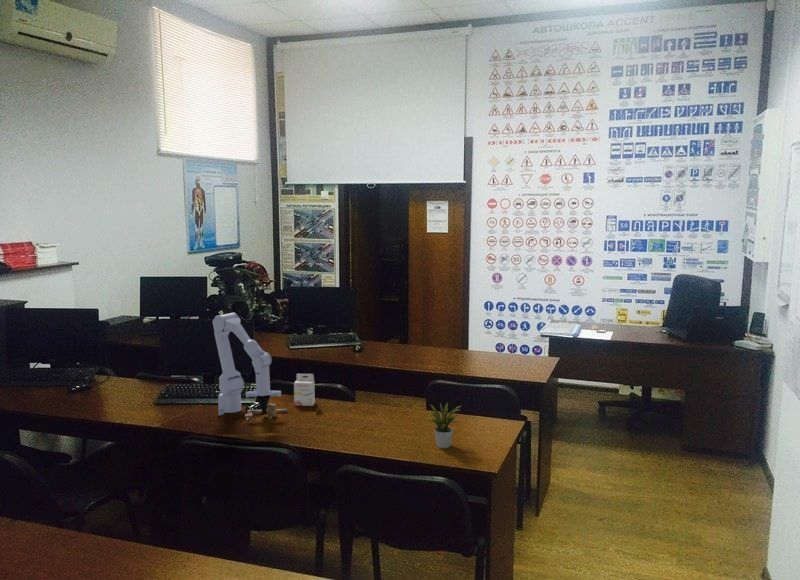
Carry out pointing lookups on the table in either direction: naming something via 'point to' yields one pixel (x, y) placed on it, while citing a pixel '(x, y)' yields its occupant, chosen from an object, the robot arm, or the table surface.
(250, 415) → the beam and fixed leg
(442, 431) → the house plant
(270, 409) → the sliding leg
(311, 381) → the ink cartridge box
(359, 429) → the table surface
